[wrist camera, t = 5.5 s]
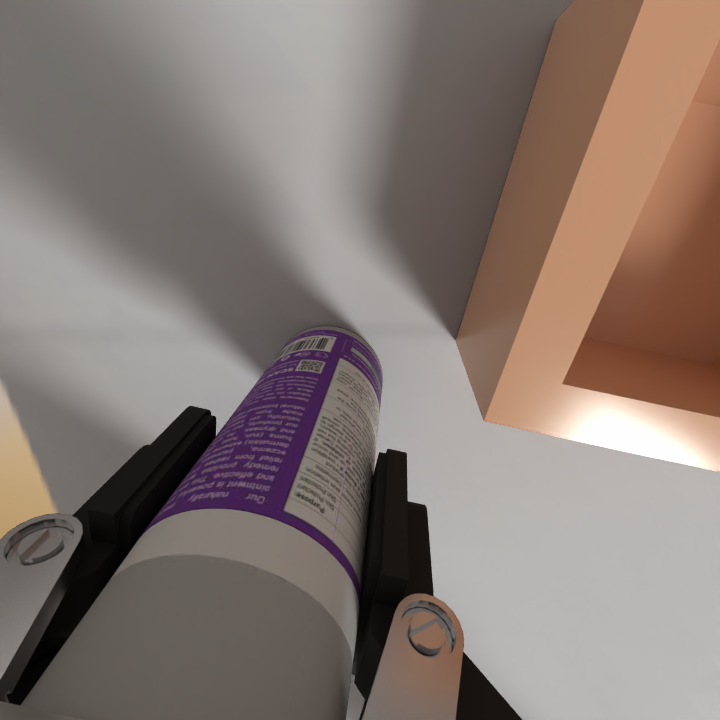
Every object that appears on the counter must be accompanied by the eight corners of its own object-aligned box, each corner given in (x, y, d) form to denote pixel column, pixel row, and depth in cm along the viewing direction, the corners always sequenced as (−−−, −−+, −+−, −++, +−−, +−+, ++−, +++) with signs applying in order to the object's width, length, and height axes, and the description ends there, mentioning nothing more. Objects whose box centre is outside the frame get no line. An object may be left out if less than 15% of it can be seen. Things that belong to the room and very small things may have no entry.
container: (268, 404, 18) (-165, 1098, 4) (288, 310, 16) (-384, 1028, 2) (365, 434, 18) (250, 1200, 4) (397, 344, 16) (371, 1211, 2)
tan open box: (709, 395, 16) (875, 505, 10) (455, 341, 16) (484, 421, 10) (906, 90, 11) (1374, -3, 6) (555, 20, 12) (694, -133, 6)
